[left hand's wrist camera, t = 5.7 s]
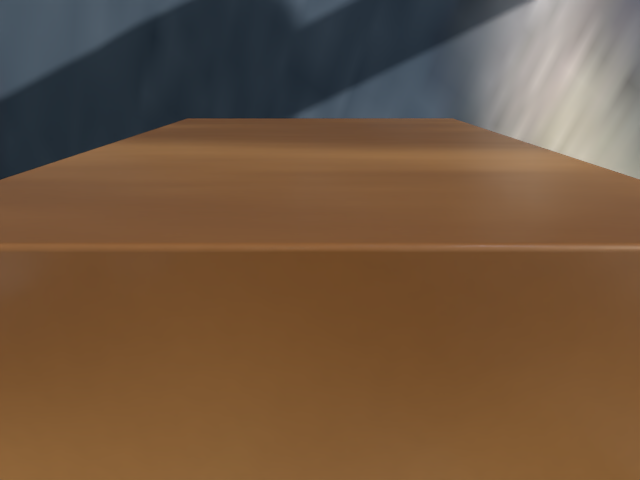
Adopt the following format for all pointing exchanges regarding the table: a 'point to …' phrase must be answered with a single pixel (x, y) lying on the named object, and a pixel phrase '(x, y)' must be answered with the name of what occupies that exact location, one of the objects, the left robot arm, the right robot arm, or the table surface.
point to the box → (320, 307)
